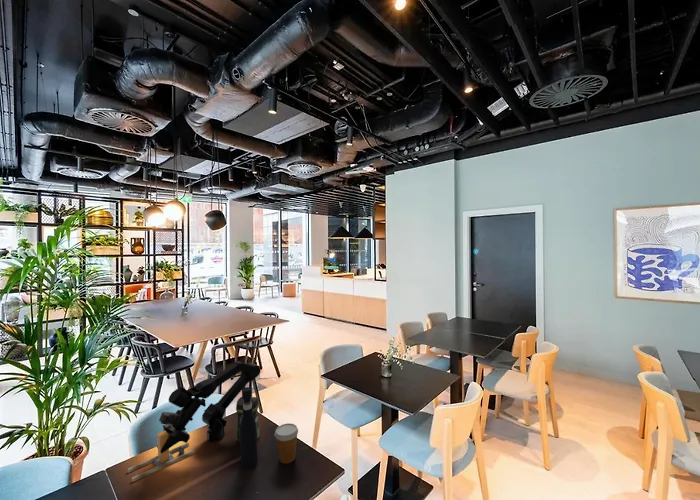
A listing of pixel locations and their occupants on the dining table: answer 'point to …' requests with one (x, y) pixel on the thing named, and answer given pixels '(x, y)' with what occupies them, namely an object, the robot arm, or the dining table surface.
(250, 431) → the wine bottle
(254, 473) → the dining table surface
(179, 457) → the rail board
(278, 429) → the disposable coffee cup
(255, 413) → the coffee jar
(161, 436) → the tan slider block
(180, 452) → the keeper hook
